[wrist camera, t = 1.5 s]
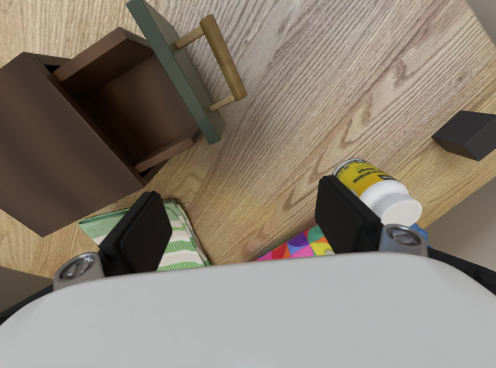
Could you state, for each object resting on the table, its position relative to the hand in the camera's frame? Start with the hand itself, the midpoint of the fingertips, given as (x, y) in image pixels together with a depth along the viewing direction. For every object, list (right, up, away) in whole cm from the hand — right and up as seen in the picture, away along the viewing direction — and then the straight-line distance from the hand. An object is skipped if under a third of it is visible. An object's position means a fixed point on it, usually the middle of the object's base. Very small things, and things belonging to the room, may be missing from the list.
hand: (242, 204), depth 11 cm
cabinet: (-20, +7, +15) cm, 26 cm away
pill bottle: (+17, +3, +20) cm, 26 cm away
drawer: (-9, +12, +12) cm, 19 cm away
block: (+32, +9, +17) cm, 37 cm away
